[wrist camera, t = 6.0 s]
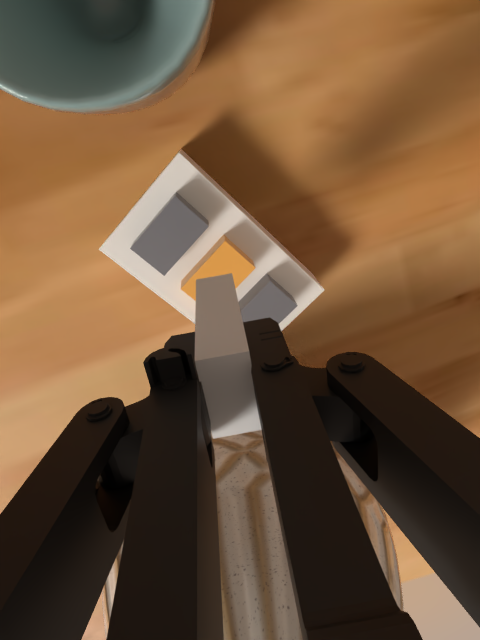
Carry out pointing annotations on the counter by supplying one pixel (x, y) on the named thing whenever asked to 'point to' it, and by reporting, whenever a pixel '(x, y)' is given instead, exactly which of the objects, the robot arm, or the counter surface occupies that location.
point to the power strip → (207, 247)
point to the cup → (100, 51)
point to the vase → (265, 544)
